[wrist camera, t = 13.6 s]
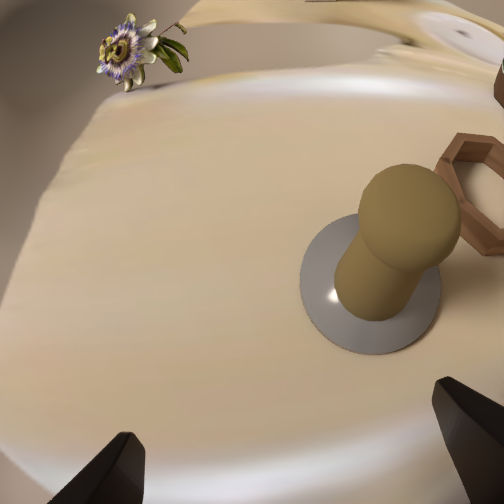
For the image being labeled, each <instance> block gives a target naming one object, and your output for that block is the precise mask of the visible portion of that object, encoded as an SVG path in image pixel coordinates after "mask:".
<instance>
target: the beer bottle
mask: <svg viewBox="0 0 504 504" xmlns="http://www.w3.org/2000/svg"><path fill="white" fill-rule="evenodd" d="M494 97H495V99H496V100H497V101H498V102H499V103H500V104H501V106H502V107H503V108H504V59H503V61H502V64H501V67H500V69H499V72H498V74H497V77H496V80H495V84H494Z"/></svg>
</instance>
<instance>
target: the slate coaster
mask: <svg viewBox="0 0 504 504" xmlns="http://www.w3.org/2000/svg"><path fill="white" fill-rule="evenodd" d="M359 229H360V227H359V216H358V214H353V215H349V216H346V217H343V218H340V219H338V220H336V221H334V222H332V223H331V224H329V225H328V226H326V227H325V228H324V229H323V230H321V231H320V232H319V233H318V234H317V236H316V237H315V238H314V239H313V240H312V242H311V244H310V245H309V247H308V249H307V251H306V253H305V255H304V258H303V262H302V265H301V272H300V290H301V297H302V301H303V304H304V307H305V309H306V312H307V314H308V316H309V318H310V319H311V321H312V323H313V324H314V325H315V327H316V328H317V329H318V330H319V331H320V332H321V333H322V334H323V335H324V336H325V337H326V338H327V339H328V340H330V341H331V342H332V343H334V344H336V345H337V346H339V347H341V348H343V349H346V350H348V351H350V352H354V353H358V354H365V355H380V354H386V353H390V352H393V351H396V350H399V349H401V348H403V347H405V346H407V345H409V344H410V343H412V342H413V341H415V340H416V339H417V338H418V337H419V336H420V335H421V334H423V333H424V331H425V330H426V329H427V328H428V326H429V325H430V323H431V322H432V320H433V318H434V316H435V314H436V311H437V309H438V305H439V301H440V294H441V279H440V273H439V269H438V265H437V266H435V267H432V268H429V269H426V270H425V272H424V274H423V276H422V277H421V279H420V281H419V283H418V285H417V287H416V288H415V290H414V292H413V294H412V296H411V297H410V299H409V301H408V302H407V304H406V305H405V307H404V309H403V310H402V311H400V312H399V313H398V314H397V315H395V316H394V317H393V318H390V319H387V320H384V321H366V320H363V319H360V318H357V317H355V316H354V315H353V314H351V313H350V312H349V311H347V310H346V309H345V308H344V306H343V305H342V303H341V302H340V301H339V299H338V297H337V294H336V291H335V288H334V273H335V270H336V267H337V264H338V262H339V260H340V259H341V257H342V256H343V254H344V253H345V251H346V250H347V248H348V247H349V245H350V243H351V242H352V240H353V239H354V237H355V236H356V234H357V232H358V231H359Z"/></svg>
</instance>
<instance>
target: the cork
mask: <svg viewBox="0 0 504 504" xmlns="http://www.w3.org/2000/svg"><path fill="white" fill-rule="evenodd" d="M358 216H359V227H360V229H359V231H358V232H357V234H356V236H355V237H354V239H353V240H352V242H351V243H350V245H349V247H348V248H347V250H346V251H345V253H344V254H343V256H342V257H341V259H340V260H339V262H338V264H337V267H336V270H335V273H334V288H335V291H336V294H337V297H338V299H339V301H340V302H341V303H342V305H343V306H344V308H345V309H346V310H347V311H349V312H350V313H351V314H353V315H354V316H355V317H357V318H360V319H363V320H366V321H384V320H387V319H390V318H393V317H394V316H395V315H397V314H398V313H399V312H400V311H402V310H403V309H404V307H405V305H406V304H407V302H408V301H409V299H410V297H411V296H412V294H413V292H414V290H415V288H416V287H417V285H418V283H419V281H420V279H421V277H422V276H423V274H424V272H425V270H426V269H429V268H432V267H435V266H437V265H438V264H439V263H441V262H442V261H443V260H444V259H445V258H446V257H447V256H448V255H449V254H450V253H451V252H452V251H453V249H454V247H455V245H456V243H457V241H458V239H459V236H460V233H461V224H462V216H461V211H460V207H459V203H458V199H457V197H456V195H455V194H454V192H453V190H452V188H451V187H450V186H449V185H448V184H447V183H446V181H445V180H444V179H443V178H442V177H440V176H439V175H437V174H436V173H434V172H433V171H431V170H430V169H427V168H424V167H421V166H418V165H412V164H401V165H396V166H391V167H389V168H386V169H385V170H383V171H381V172H380V173H378V174H376V175H375V176H374V178H373V179H372V180H371V182H370V183H369V184H368V185H367V187H366V188H365V189H364V191H363V194H362V198H361V201H360V205H359V209H358Z"/></svg>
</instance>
